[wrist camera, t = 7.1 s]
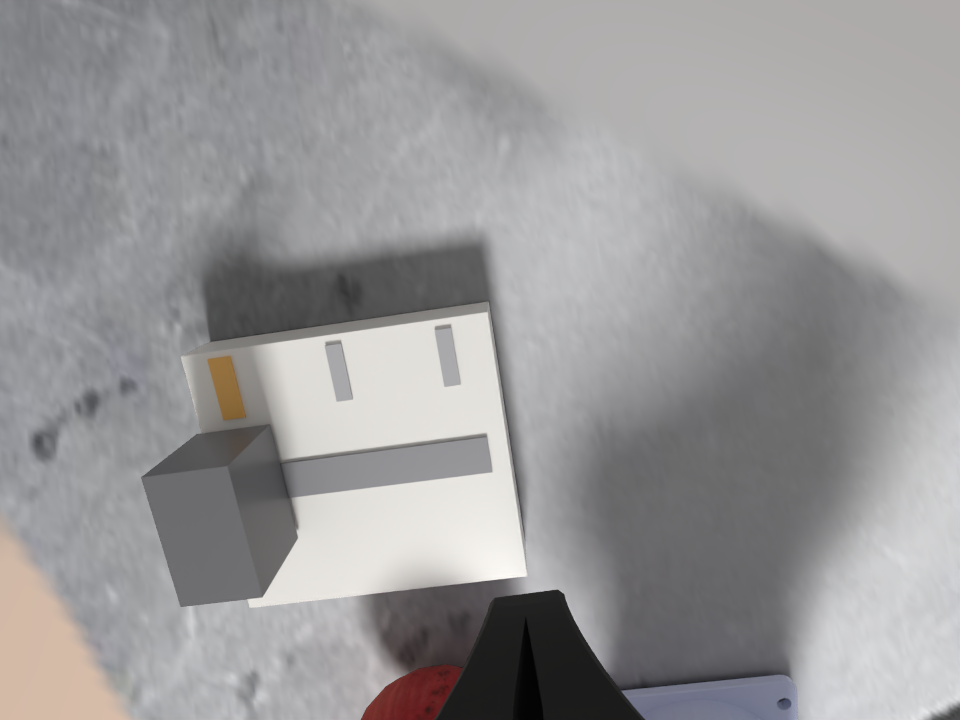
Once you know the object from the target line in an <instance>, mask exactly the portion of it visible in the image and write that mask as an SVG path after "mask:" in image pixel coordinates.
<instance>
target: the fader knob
mask: <svg viewBox="0 0 960 720" xmlns="http://www.w3.org/2000/svg"><path fill="white" fill-rule="evenodd" d="M141 479H142V482H143V485H144V488H145V492H146V495H147V498H148V501H149V505H150V508H151V511H152V515H153V518H154V521H155V524H156V528H157V531H158V534H159V537H160V541H161V544H162V547H163V551H164V554H165V557H166V560H167V564H168V567H169V570H170V573H171V577H172V580H173V583H174V587H175V590H176V593H177V596H178V600H179V603H180V606H181V607H185V606H193V605H202V604H211V603H219V602H228V601H237V600H245V599H254V598H263V596H264V594H265V593H266V591H267V589H268V588H269V586H270V584H271V583H272V581H273V579H274V578H275V576H276V574H277V573H278V571H279V569H280V568H281V566H282V564H283V563H284V561H285V559H286V558H287V556H288V554H289V553H290V551H291V549H292V548H293V546H294V544H295V543H296V541H297V539H298V535H297V531H296V527H295V523H294V519H293V515H292V511H291V506H290V502H289V498H288V494H287V490H286V486H285V482H284V478H283V474H282V470H281V466H280V462H279V458H278V454H277V450H276V446H275V442H274V438H273V433H272V429H271V425H270V424H268V425H261V426H253V427H246V428H239V429H231V430H224V431H217V432H209V433H202V434H196V435H195V436H194V437H193V438H191V439H190V440H189V441H187V442H186V443H185V444H184V445H182V446H181V447H180V448H178V449H177V450H176V451H175V452H173V453H172V454H171V455H169V456H168V457H167V458H166V459H164V460H163V461H162V462H160V463H159V464H158V465H157V466H155V467H154V468H153V469H151V470H150V471H149V472H148V473H146V474H145V475H144V476H142V477H141Z"/></svg>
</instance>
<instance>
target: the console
mask: <svg viewBox="0 0 960 720" xmlns="http://www.w3.org/2000/svg"><path fill="white" fill-rule="evenodd" d="M181 359H182V363H183V366H184V370H185V374H186V377H187V381H188V385H189V388H190V392H191V395H192V399H193V403H194V406H195V410H196V414H197V417H198V421H199V425H200V428H201V432H202V433H209V432H217V431H224V430H231V429H239V428H246V427H253V426H261V425H268V424H270V425H271V429H272V433H273V438H274V442H275V446H276V450H277V454H278V458H279V462H280V466H281V470H282V474H283V478H284V482H285V486H286V490H287V494H288V498H289V502H290V506H291V511H292V515H293V519H294V523H295V527H296V531H297V535H298V539H297V541H296V543H295V544H294V546H293V548H292V549H291V551H290V553H289V554H288V556H287V558H286V559H285V561H284V563H283V564H282V566H281V568H280V569H279V571H278V573H277V574H276V576H275V578H274V579H273V581H272V583H271V584H270V586H269V588H268V589H267V591H266V593H265V594H264V596H263V598H254V599H248V603H249V606H250V608H253V607H262V606H271V605H279V604H288V603H297V602H306V601H314V600H323V599H332V598H340V597H349V596H358V595H367V594H375V593H384V592H393V591H402V590H410V589H419V588H428V587H436V586H445V585H454V584H463V583H471V582H480V581H489V580H498V579H506V578H515V577H524V576H527V562H526V547H525V539H524V532H523V526H522V519H521V512H520V506H519V499H518V492H517V486H516V479H515V472H514V466H513V459H512V452H511V446H510V439H509V432H508V426H507V419H506V412H505V406H504V399H503V392H502V386H501V379H500V372H499V366H498V359H497V353H496V346H495V339H494V333H493V326H492V319H491V313H490V306H489V301H488V302H481V303H475V304H468V305H461V306H454V307H447V308H440V309H433V310H427V311H420V312H413V313H406V314H399V315H392V316H385V317H378V318H372V319H365V320H358V321H351V322H344V323H337V324H330V325H324V326H317V327H310V328H303V329H296V330H289V331H282V332H276V333H269V334H262V335H255V336H248V337H241V338H234V339H228V340H221V341H214V342H209V343H207V344H205V345H203V346H201V347H199V348H197V349H195V350H193V351H191V352H189V353H187V354H185V355H183V356H181Z"/></svg>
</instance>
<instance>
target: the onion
mask: <svg viewBox="0 0 960 720" xmlns="http://www.w3.org/2000/svg"><path fill="white" fill-rule="evenodd" d="M462 669H463V668H461V667H456V666H452V665H448V664H445V665H438V666H431V667H425V668H419V669H417V670H415V671H413V672H411V673H409V674H407V675H405V676H403V677H401V678H399V679H397V680H395V681H394V682H392V683H391V684H389V685H388V686H386V687H385V688H384V689H383V690H382V691H381V693H380V694H379V695H378V696H377V697H376V698H375V699H374V700H373V701H372V703H371V704H370V705H369V706H368V707H367V708H366V710H365V712H364V714H363V716H362V719H361V720H434V719H435V717H436V716H437V714H438V712H439V711H440V709H441V707H442V706H443V704H444V702H445V700H446V699H447V697H448V695H449V693H450V692H451V690H452V688H453V686H454V684H455V683H456V681H457V679H458V677H459V675H460V673H461V671H462Z"/></svg>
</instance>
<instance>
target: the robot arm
mask: <svg viewBox="0 0 960 720" xmlns="http://www.w3.org/2000/svg"><path fill="white" fill-rule="evenodd" d="M783 698H786V699H785V700H784V701H781V702H778V701H779V700H780V699H783ZM434 720H798V708H797V689H796V686H795V684H794V683H793V681H792V680H791V679H790V678H789V677H788V676H785V675H772V676H762V677H752V678H742V679H732V680H722V681H712V682H702V683H692V684H682V685H672V686H662V687H653V688H643V689H633V690H623V691H621V690H620V689H619V688H618V686H617V685H616V684H615V682H614V681H613V680H612V679H611V677H610V676H609V674H608V673H607V672H606V670H605V669H604V667H603V666H602V665H601V663H600V662H599V660H598V659H597V657H596V656H595V654H594V653H593V651H592V650H591V648H590V646H589V645H588V643H587V642H586V640H585V638H584V637H583V635H582V633H581V632H580V630H579V628H578V626H577V624H576V622H575V621H574V619H573V617H572V614H571V612H570V610H569V608H568V605H567V602H566V599H565V595H564V594H563V593H562V592H560V591H559V590H551V591H544V592H536V593H528V594H521V595H513V596H506V597H498V598H494V600H493V601H492V602H491V603H490V606H489V609H488V612H487V615H486V617H485V620H484V623H483V625H482V628H481V630H480V633H479V635H478V637H477V640H476V642H475V644H474V647H473V649H472V651H471V653H470V655H469V657H468V659H467V661H466V663H465V665H464V667H463V669H462V671H461V673H460V675H459V677H458V679H457V681H456V683H455V684H454V686H453V688H452V690H451V692H450V693H449V695H448V697H447V699H446V700H445V702H444V704H443V706H442V707H441V709H440V711H439V712H438V714H437V716H436V717H435V719H434Z"/></svg>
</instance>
